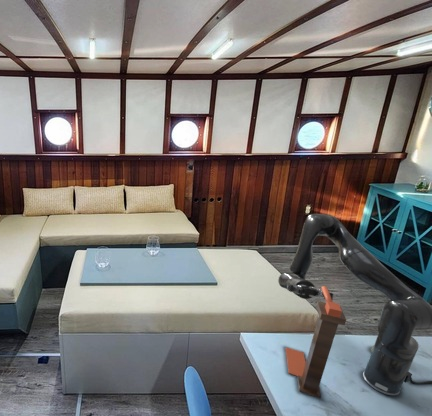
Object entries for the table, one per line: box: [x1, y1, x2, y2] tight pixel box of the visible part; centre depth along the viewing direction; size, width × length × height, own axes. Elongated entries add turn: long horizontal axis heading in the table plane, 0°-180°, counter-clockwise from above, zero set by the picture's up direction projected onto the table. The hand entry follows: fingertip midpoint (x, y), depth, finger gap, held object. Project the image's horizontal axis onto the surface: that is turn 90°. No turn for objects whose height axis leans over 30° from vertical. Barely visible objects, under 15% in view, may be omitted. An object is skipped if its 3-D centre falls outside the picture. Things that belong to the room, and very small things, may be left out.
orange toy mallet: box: [320, 285, 343, 318], centre depth 90 cm, size 15×3×2 cm, turn 154°
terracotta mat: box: [285, 347, 306, 377], centre depth 106 cm, size 13×6×1 cm, turn 154°
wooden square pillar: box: [296, 301, 347, 399], centre depth 92 cm, size 6×6×32 cm
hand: (315, 294), depth 104 cm, fingers open, 8 cm apart
